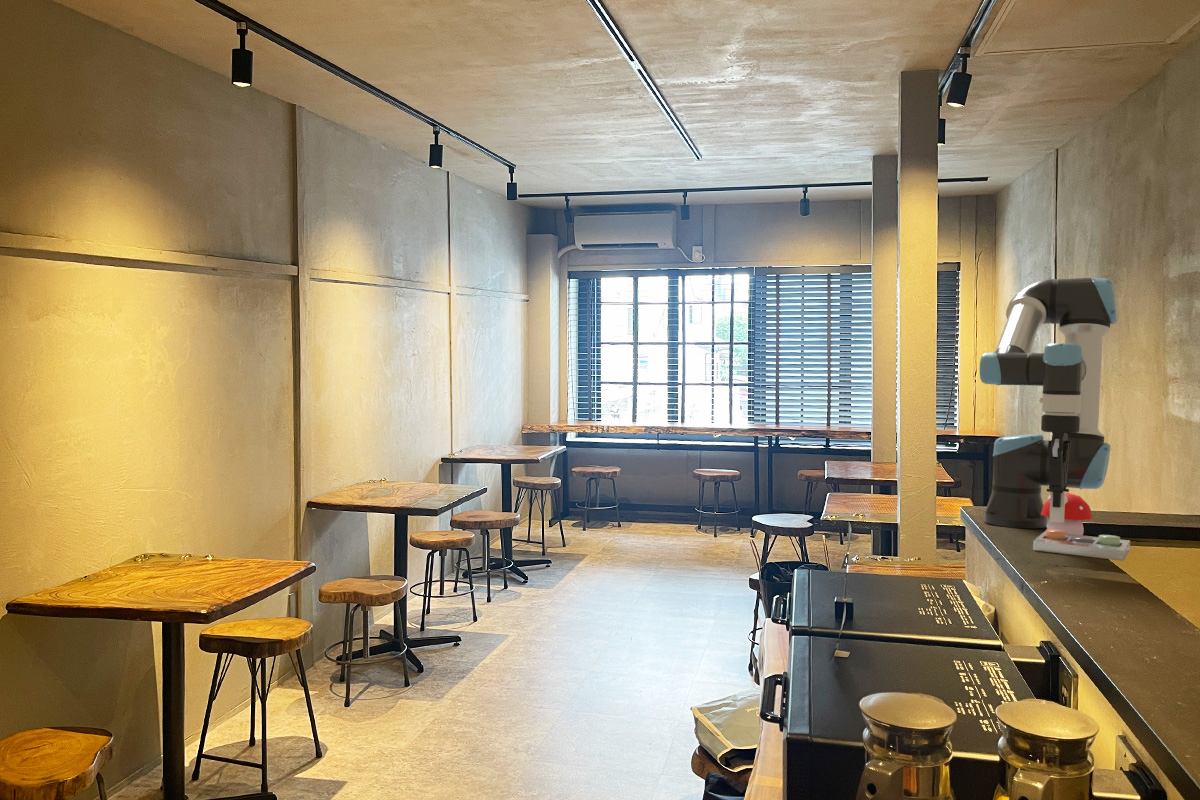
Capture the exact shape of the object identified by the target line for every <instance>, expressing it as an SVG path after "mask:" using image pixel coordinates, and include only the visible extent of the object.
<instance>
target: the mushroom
mask: <svg viewBox="0 0 1200 800" xmlns="http://www.w3.org/2000/svg"><path fill="white" fill-rule="evenodd" d="M1043 504H1044V506H1043V509H1042V512H1041V515H1043V516H1046V517H1048V523H1047V527H1046V530H1047V529H1056V530H1063V531H1066V534H1073V535H1083V536H1084V531H1085V530H1084V525H1083V521H1089V520H1092V519H1094V516H1093V513H1092V510H1091V508H1090V505H1089V504H1088V503H1087V502H1086V501H1085V500H1084V499H1083V498H1082V497H1081V495H1077V494H1074V493H1070V492H1065V511H1064V522H1063V523H1060V522H1050V521H1049V520H1050V495H1049V496H1048V498H1047V500H1046V501H1045V502H1043Z"/></svg>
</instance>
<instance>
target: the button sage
mask: <svg viewBox="0 0 1200 800" xmlns="http://www.w3.org/2000/svg"><path fill="white" fill-rule="evenodd" d="M1098 537H1099V544H1101V545H1110V546H1119V547H1120V540H1121V536H1117V535H1114V534H1113V535H1111V534H1098Z"/></svg>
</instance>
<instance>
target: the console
mask: <svg viewBox="0 0 1200 800" xmlns="http://www.w3.org/2000/svg"><path fill="white" fill-rule="evenodd" d="M1045 535H1046V531H1043V532H1042V533H1041V534H1040V535H1038V536H1037V537H1035V539H1034V540H1033V543H1032V550H1033V551H1036V552H1037V551H1038V552H1046V553H1053V554H1055V553H1056V554H1063V555H1072V556H1081V557H1088V558H1098V559H1107V560H1115V561H1123V562H1124V560H1125V558H1126V557H1127V555H1128V554H1129V552H1130V551H1131V540H1129V539H1128V540H1127V539H1120V547H1119V546H1110V545H1101V544H1099V536H1090V535H1084V534H1083V535H1073V534H1066V541H1064V540H1055V539H1046V538H1045ZM1076 536H1077V537H1088V538H1092V539H1093V540H1092V544H1091V543H1082V542H1073V541H1072V537H1076Z"/></svg>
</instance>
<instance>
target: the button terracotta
mask: <svg viewBox="0 0 1200 800" xmlns="http://www.w3.org/2000/svg"><path fill="white" fill-rule="evenodd" d="M1045 532H1046V535H1045V538H1046V539H1055V540H1064V541H1066V531H1063V530H1056V529H1047V528H1046V529H1045Z"/></svg>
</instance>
